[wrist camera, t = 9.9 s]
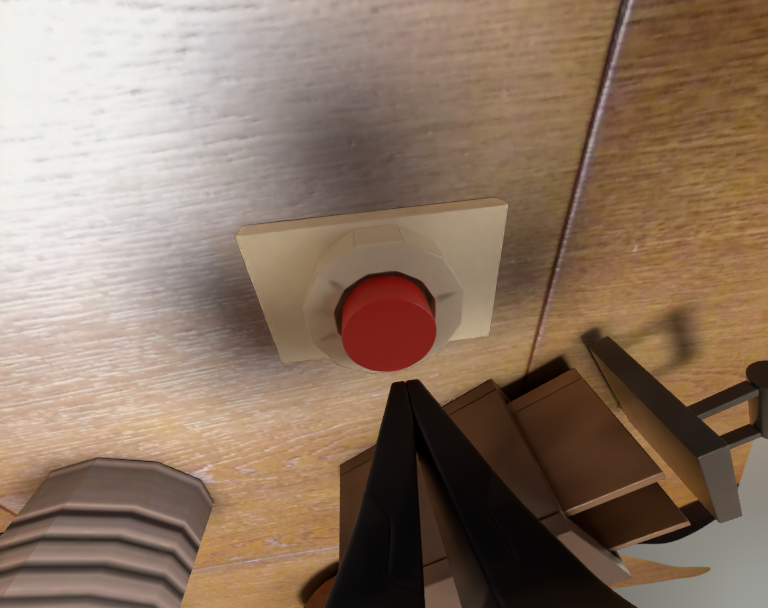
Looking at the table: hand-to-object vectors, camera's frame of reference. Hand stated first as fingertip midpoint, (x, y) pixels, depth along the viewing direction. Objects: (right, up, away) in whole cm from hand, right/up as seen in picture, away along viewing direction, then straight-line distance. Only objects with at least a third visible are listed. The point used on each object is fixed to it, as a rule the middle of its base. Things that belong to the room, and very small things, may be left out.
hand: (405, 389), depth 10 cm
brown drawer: (+13, -5, +12) cm, 18 cm away
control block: (-1, +4, +6) cm, 7 cm away
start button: (-1, +2, +3) cm, 4 cm away
